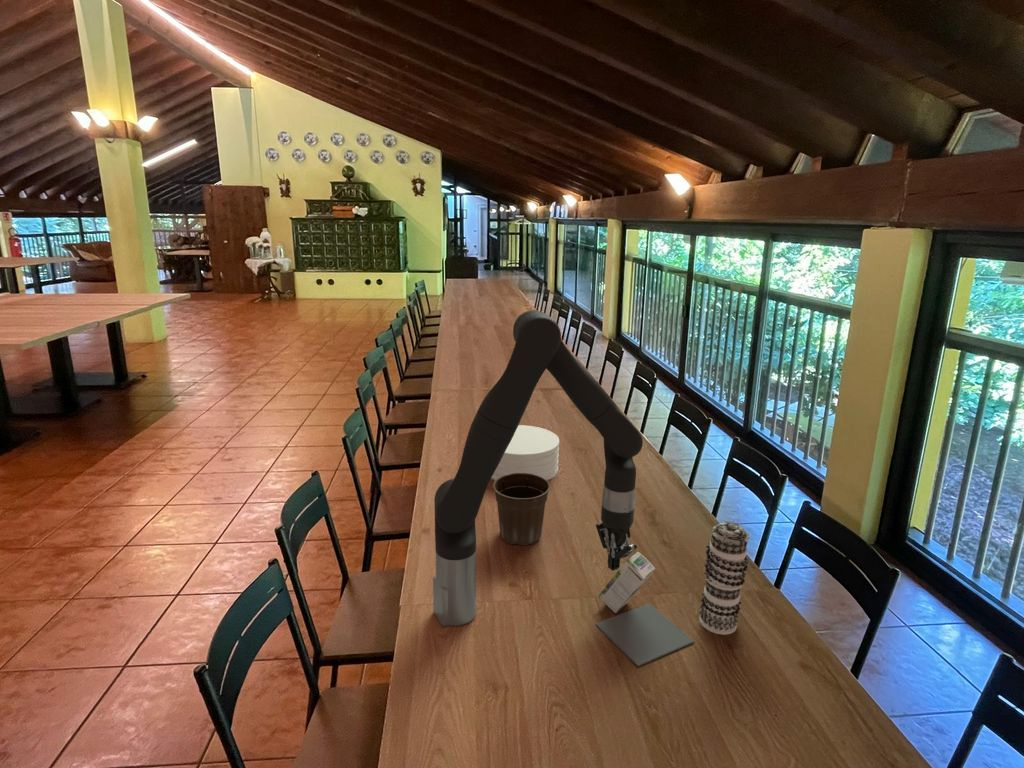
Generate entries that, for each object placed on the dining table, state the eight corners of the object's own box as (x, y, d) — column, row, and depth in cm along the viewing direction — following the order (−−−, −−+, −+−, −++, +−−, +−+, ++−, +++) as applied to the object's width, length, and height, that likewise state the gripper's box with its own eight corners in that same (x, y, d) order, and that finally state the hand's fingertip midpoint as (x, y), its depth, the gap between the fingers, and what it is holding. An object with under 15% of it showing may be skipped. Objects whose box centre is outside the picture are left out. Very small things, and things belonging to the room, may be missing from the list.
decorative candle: (689, 615, 146) (700, 521, 139) (719, 606, 150) (732, 514, 143) (715, 640, 138) (728, 541, 131) (747, 629, 142) (762, 533, 135)
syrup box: (609, 585, 153) (637, 549, 145) (627, 603, 150) (656, 567, 143) (597, 596, 149) (625, 559, 141) (615, 615, 146) (645, 579, 138)
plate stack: (473, 481, 214) (473, 450, 211) (489, 450, 240) (490, 422, 237) (553, 488, 210) (555, 457, 206) (561, 456, 236) (562, 428, 233)
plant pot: (517, 556, 169) (519, 503, 164) (481, 533, 181) (481, 483, 176) (559, 537, 179) (561, 486, 175) (522, 515, 191) (523, 468, 186)
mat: (638, 666, 130) (638, 665, 130) (595, 624, 142) (595, 623, 142) (693, 642, 137) (694, 641, 137) (649, 604, 150) (649, 603, 150)
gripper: (588, 495, 146) (584, 558, 151) (623, 519, 135) (618, 587, 140) (613, 488, 150) (608, 551, 155) (649, 512, 139) (643, 578, 144)
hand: (613, 568), depth 148 cm, fingers closed
